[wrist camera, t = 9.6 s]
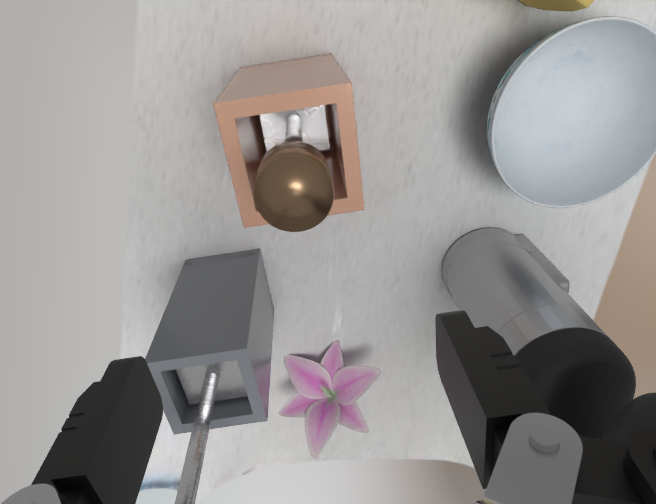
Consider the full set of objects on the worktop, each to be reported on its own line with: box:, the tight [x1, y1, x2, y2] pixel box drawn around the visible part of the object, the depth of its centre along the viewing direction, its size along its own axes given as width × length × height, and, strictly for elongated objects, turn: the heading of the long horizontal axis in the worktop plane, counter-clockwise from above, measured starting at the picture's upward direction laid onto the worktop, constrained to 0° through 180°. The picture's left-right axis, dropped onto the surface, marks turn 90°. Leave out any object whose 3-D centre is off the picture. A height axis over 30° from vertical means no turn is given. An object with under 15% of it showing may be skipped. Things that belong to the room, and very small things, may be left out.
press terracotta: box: [213, 53, 364, 228], centre depth 35 cm, size 8×8×16 cm
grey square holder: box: [145, 249, 274, 434], centre depth 44 cm, size 8×8×16 cm
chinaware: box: [487, 16, 656, 208], centre depth 40 cm, size 15×15×8 cm
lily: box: [279, 341, 381, 458], centre depth 55 cm, size 12×12×10 cm
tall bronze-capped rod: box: [175, 360, 248, 504], centre depth 32 cm, size 5×5×16 cm
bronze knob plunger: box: [254, 105, 334, 232], centre depth 30 cm, size 5×5×16 cm
